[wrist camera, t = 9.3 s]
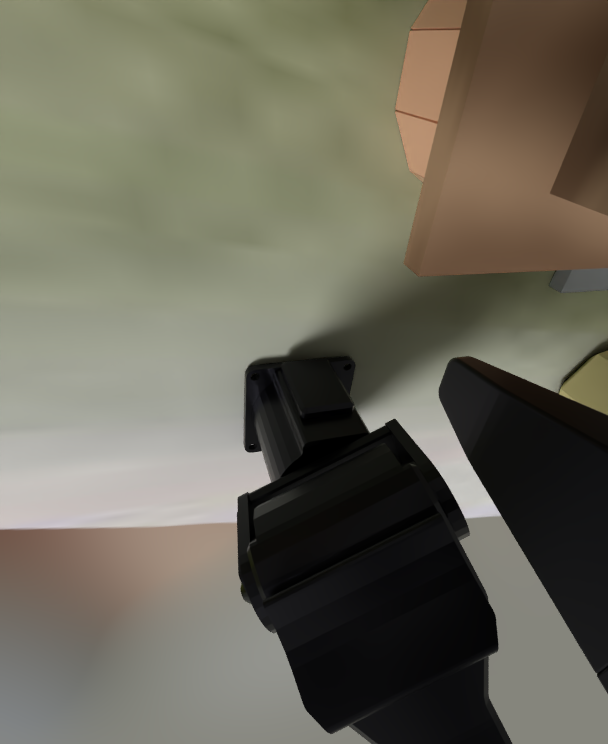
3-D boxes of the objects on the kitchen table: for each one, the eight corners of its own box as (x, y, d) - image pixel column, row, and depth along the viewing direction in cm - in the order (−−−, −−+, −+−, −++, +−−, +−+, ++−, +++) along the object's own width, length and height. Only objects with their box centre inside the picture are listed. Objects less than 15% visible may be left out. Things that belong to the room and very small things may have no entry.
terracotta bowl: (545, 203, 23) (624, 235, 19) (377, 200, 20) (432, 238, 16) (651, -56, 17) (795, -81, 13) (436, -111, 14) (543, -163, 11)
